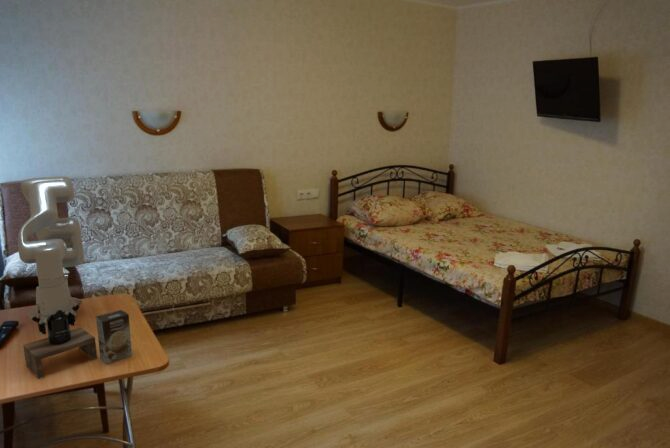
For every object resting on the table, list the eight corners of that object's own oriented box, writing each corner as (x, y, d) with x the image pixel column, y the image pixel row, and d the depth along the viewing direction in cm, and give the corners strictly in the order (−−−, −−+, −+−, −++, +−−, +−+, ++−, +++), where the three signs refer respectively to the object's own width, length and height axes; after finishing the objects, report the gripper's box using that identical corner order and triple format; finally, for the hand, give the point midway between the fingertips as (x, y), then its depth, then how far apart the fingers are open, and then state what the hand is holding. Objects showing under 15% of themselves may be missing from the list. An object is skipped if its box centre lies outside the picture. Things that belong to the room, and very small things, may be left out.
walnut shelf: (26, 366, 174) (23, 344, 172) (83, 347, 188) (81, 327, 186) (38, 378, 166) (35, 356, 165) (97, 358, 180) (94, 337, 178)
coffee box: (107, 364, 175) (102, 321, 172) (99, 358, 180) (94, 316, 176) (133, 355, 182) (128, 314, 178) (125, 349, 186) (121, 309, 182)
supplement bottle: (61, 346, 172) (57, 313, 169) (44, 344, 173) (39, 311, 170) (75, 337, 178) (71, 305, 175) (58, 335, 179) (54, 303, 177)
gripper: (74, 272, 179) (79, 318, 183) (19, 285, 166) (26, 333, 170) (82, 277, 174) (88, 324, 178) (26, 290, 161) (33, 340, 166)
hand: (58, 328), depth 174 cm, fingers open, 8 cm apart
